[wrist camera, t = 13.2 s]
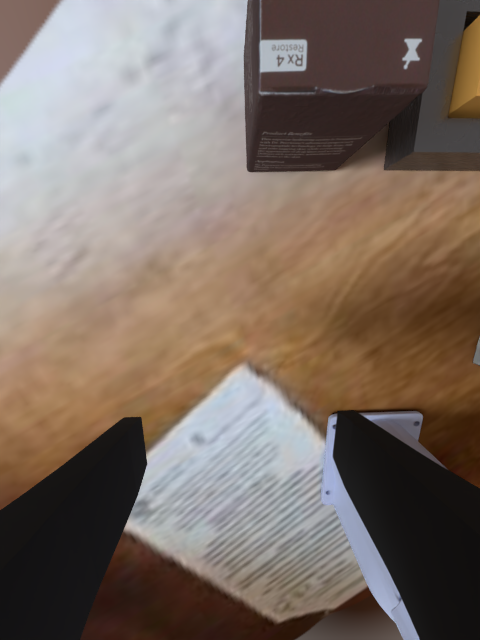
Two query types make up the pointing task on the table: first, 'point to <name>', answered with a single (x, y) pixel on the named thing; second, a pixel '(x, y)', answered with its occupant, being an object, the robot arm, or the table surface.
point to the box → (330, 76)
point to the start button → (467, 75)
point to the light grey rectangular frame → (477, 354)
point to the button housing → (438, 106)
